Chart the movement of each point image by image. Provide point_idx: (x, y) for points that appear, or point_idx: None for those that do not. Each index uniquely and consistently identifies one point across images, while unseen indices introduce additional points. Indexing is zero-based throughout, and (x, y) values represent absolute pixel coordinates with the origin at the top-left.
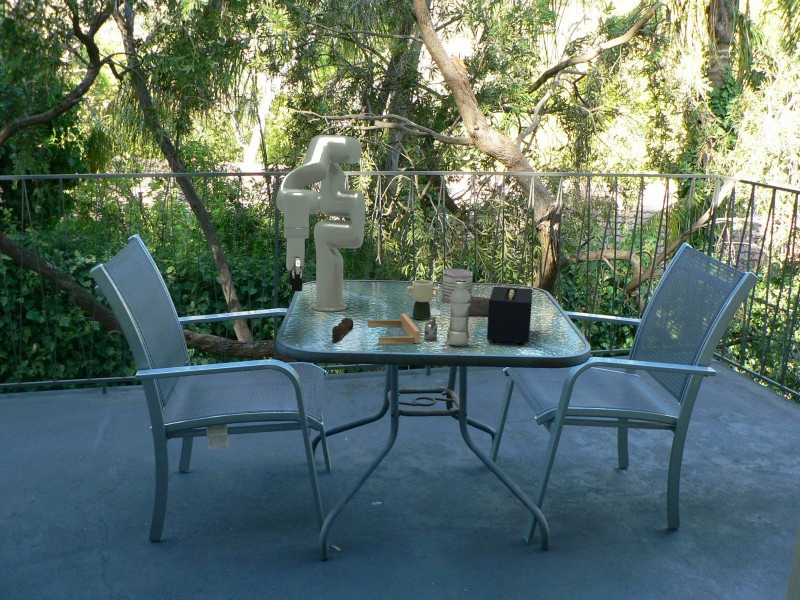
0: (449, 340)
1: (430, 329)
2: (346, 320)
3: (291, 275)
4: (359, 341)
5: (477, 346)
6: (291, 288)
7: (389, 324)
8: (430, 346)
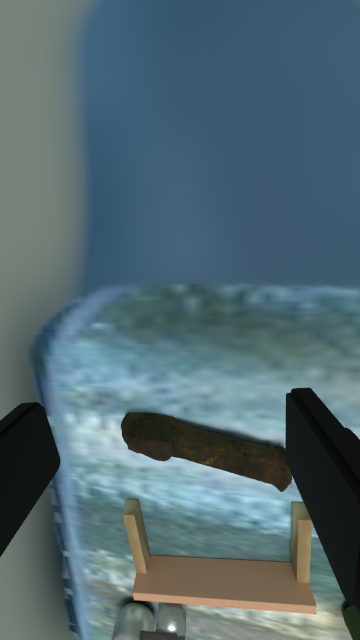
0: (124, 613)
1: (157, 617)
2: (269, 476)
3: (338, 490)
4: (151, 466)
5: None
6: (22, 411)
7: (293, 548)
8: (125, 572)
